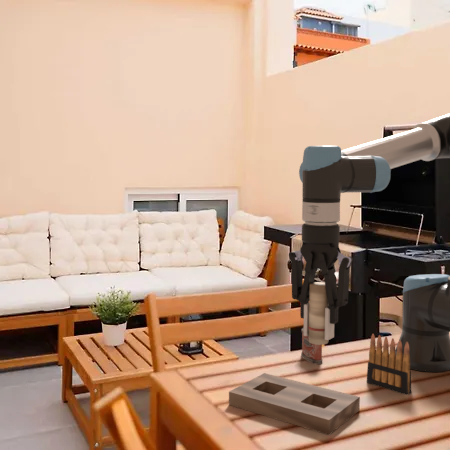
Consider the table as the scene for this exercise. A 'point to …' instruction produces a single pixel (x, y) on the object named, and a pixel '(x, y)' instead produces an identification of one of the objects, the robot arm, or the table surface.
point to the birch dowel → (317, 313)
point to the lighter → (311, 350)
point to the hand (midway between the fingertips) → (318, 336)
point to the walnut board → (295, 402)
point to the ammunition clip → (389, 366)
